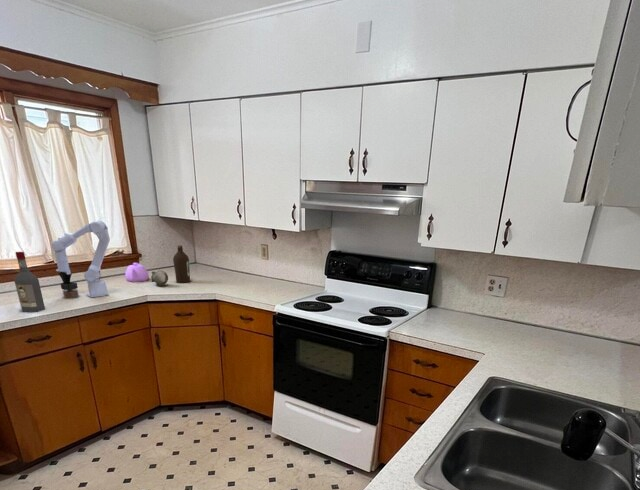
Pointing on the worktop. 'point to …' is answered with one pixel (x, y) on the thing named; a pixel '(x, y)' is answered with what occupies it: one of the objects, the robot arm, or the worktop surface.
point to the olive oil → (181, 266)
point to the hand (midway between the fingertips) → (67, 284)
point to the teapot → (136, 273)
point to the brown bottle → (71, 293)
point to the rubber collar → (69, 286)
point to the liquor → (28, 287)
